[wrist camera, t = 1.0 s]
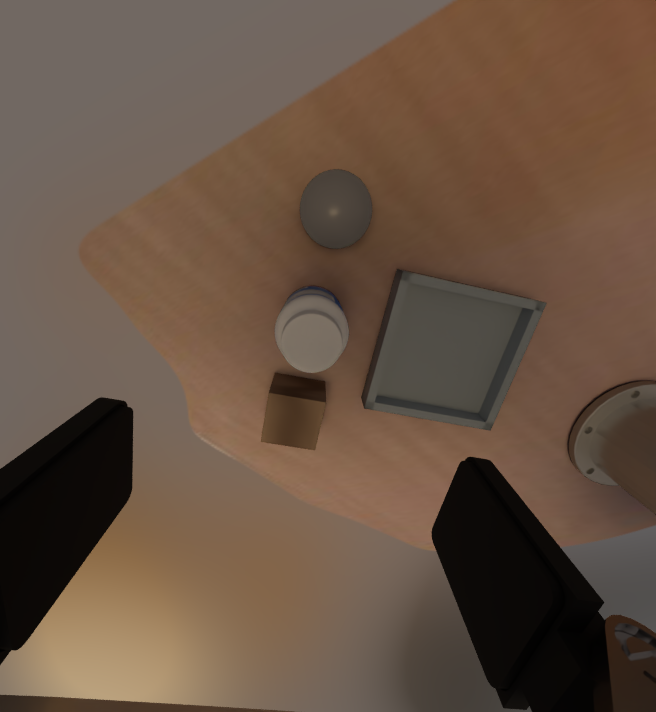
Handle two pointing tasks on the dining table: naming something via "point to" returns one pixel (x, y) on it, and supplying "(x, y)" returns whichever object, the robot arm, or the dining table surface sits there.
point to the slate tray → (448, 350)
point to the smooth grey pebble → (336, 209)
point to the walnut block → (294, 411)
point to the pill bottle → (311, 329)
